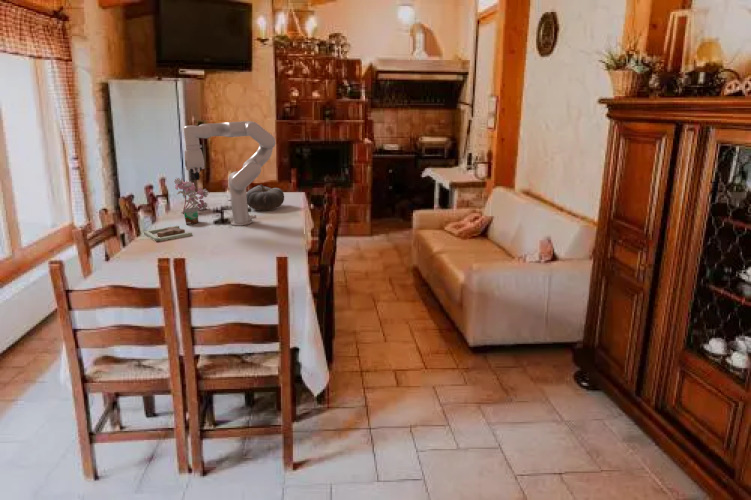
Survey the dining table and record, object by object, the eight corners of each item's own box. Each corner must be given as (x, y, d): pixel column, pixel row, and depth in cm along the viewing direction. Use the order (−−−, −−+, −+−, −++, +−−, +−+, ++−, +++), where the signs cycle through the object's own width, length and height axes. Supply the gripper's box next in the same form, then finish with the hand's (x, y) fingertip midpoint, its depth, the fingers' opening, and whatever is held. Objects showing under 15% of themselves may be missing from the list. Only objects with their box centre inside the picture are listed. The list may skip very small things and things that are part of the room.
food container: (194, 225, 334) (192, 209, 331) (184, 225, 335) (182, 209, 332) (204, 220, 345) (202, 205, 342) (195, 220, 346) (193, 204, 343)
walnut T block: (171, 231, 321) (170, 226, 320) (185, 234, 314) (184, 229, 313) (153, 236, 311) (152, 231, 310) (167, 239, 304) (166, 234, 303)
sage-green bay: (178, 227, 329) (178, 225, 328) (192, 235, 311) (192, 232, 311) (143, 234, 317) (143, 231, 317) (156, 242, 300) (156, 239, 299)
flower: (202, 213, 359) (207, 177, 363) (168, 210, 359) (173, 174, 362) (210, 219, 378) (215, 185, 382) (178, 216, 378) (183, 182, 382)
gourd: (254, 200, 388) (254, 177, 381) (288, 206, 386) (289, 183, 379) (240, 212, 365) (241, 187, 358) (276, 218, 363) (278, 193, 356)
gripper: (203, 146, 321) (206, 177, 326) (177, 148, 312) (181, 180, 317) (208, 147, 315) (211, 178, 320) (182, 149, 306) (186, 182, 312)
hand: (196, 179), depth 319 cm, fingers closed
